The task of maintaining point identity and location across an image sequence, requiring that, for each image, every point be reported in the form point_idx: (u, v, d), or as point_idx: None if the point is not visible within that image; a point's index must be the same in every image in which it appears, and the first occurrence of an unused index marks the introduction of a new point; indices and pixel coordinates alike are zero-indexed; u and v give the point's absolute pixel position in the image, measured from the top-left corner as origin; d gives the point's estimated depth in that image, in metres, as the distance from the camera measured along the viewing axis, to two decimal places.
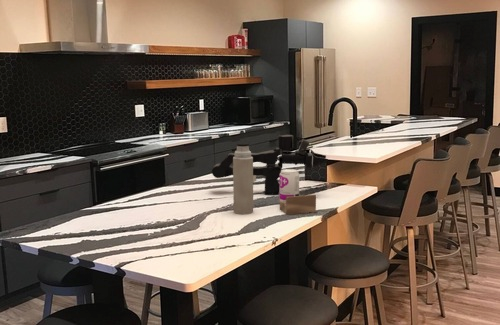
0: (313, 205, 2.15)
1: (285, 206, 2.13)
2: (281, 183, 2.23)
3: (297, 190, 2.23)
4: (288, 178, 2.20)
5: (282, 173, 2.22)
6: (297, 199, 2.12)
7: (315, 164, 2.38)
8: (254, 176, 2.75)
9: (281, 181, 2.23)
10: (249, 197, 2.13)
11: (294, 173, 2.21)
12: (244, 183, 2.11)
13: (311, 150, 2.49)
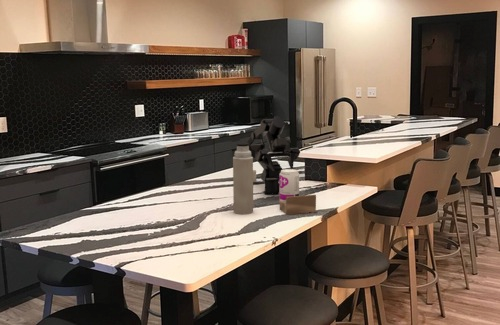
0: (313, 205, 2.15)
1: (285, 206, 2.13)
2: (281, 183, 2.23)
3: (297, 190, 2.23)
4: (288, 178, 2.20)
5: (282, 173, 2.22)
6: (297, 199, 2.12)
7: (266, 163, 2.34)
8: (254, 176, 2.75)
9: (281, 181, 2.23)
10: (249, 197, 2.13)
11: (294, 173, 2.21)
12: (244, 183, 2.11)
13: (291, 153, 2.35)
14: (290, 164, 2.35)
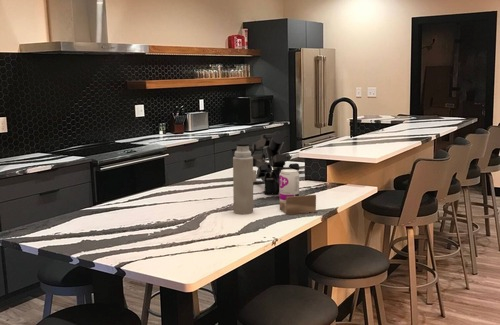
0: (313, 205, 2.15)
1: (285, 206, 2.13)
2: (281, 183, 2.23)
3: (297, 190, 2.23)
4: (288, 178, 2.20)
5: (282, 173, 2.22)
6: (297, 199, 2.12)
7: (274, 178, 2.37)
8: (254, 176, 2.75)
9: (281, 181, 2.23)
10: (249, 197, 2.13)
11: (294, 173, 2.21)
12: (244, 183, 2.11)
13: (281, 169, 2.35)
14: None
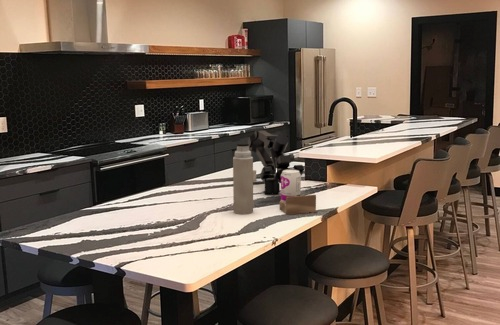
0: (313, 205, 2.15)
1: (285, 206, 2.13)
2: (282, 183, 2.21)
3: (298, 191, 2.21)
4: (290, 178, 2.19)
5: (283, 174, 2.20)
6: (297, 199, 2.12)
7: (278, 179, 2.32)
8: (254, 176, 2.75)
9: (282, 182, 2.21)
10: (249, 197, 2.13)
11: (295, 174, 2.19)
12: (244, 183, 2.11)
13: None
14: None
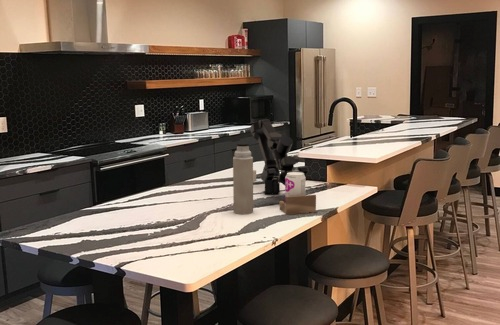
0: (313, 205, 2.15)
1: (285, 206, 2.13)
2: (287, 186, 2.16)
3: (303, 193, 2.17)
4: (295, 181, 2.14)
5: (288, 176, 2.16)
6: (297, 199, 2.12)
7: (282, 182, 2.27)
8: (254, 176, 2.75)
9: (287, 184, 2.16)
10: (249, 197, 2.13)
11: (300, 176, 2.15)
12: (244, 183, 2.11)
13: None
14: None
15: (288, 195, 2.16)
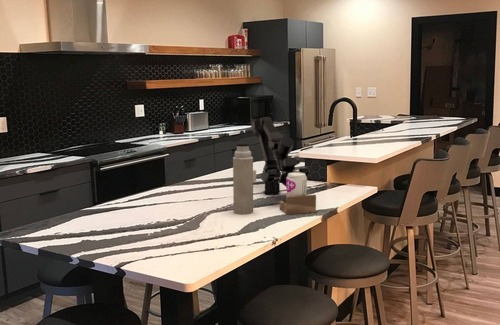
0: (313, 205, 2.15)
1: (285, 206, 2.13)
2: (288, 186, 2.15)
3: (305, 194, 2.15)
4: (296, 181, 2.13)
5: (289, 177, 2.15)
6: (297, 199, 2.12)
7: (283, 183, 2.26)
8: (254, 176, 2.75)
9: (288, 185, 2.15)
10: (249, 197, 2.13)
11: (302, 177, 2.13)
12: (244, 183, 2.11)
13: None
14: None
15: (289, 196, 2.15)
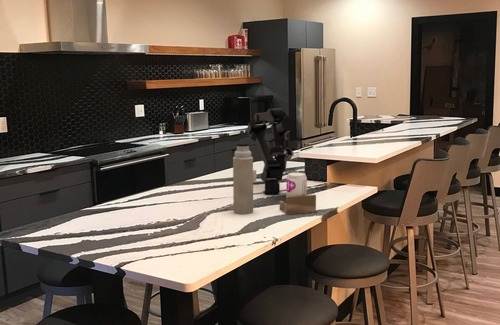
0: (313, 205, 2.15)
1: (285, 206, 2.13)
2: (288, 186, 2.15)
3: (305, 194, 2.15)
4: (296, 181, 2.13)
5: (289, 177, 2.15)
6: (297, 199, 2.12)
7: (277, 158, 2.33)
8: (254, 176, 2.75)
9: (288, 185, 2.15)
10: (249, 197, 2.13)
11: (302, 177, 2.13)
12: (244, 183, 2.11)
13: (288, 155, 2.34)
14: None
15: (289, 196, 2.15)
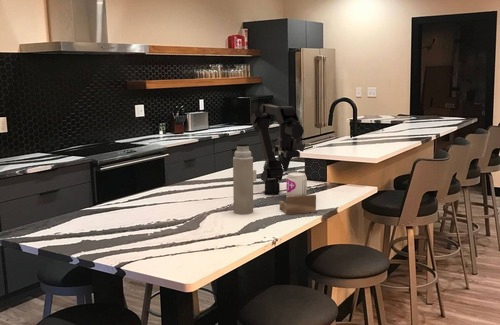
0: (313, 205, 2.15)
1: (285, 206, 2.13)
2: (288, 186, 2.15)
3: (305, 194, 2.15)
4: (296, 181, 2.13)
5: (289, 177, 2.15)
6: (297, 199, 2.12)
7: (283, 159, 2.31)
8: (254, 176, 2.75)
9: (288, 185, 2.15)
10: (249, 197, 2.13)
11: (302, 177, 2.14)
12: (244, 183, 2.11)
13: None
14: None
15: (289, 196, 2.15)
